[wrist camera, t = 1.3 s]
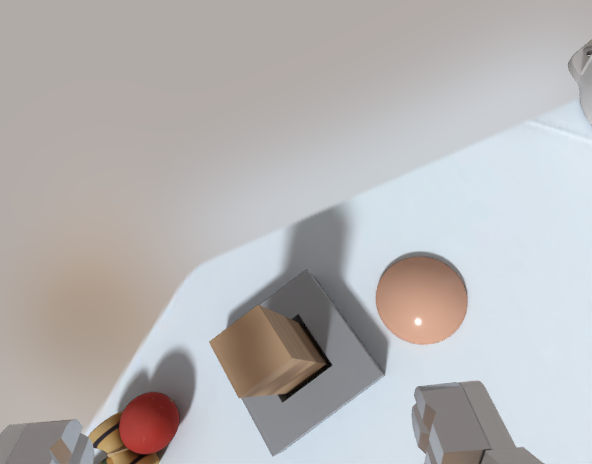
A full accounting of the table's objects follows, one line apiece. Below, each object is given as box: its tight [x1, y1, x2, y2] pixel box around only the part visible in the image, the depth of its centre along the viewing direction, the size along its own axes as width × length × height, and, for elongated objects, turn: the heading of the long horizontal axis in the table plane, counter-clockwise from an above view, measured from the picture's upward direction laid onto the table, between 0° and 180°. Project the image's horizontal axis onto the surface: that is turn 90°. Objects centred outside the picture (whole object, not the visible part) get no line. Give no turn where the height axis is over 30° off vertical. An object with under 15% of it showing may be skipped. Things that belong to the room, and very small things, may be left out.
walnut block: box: [209, 304, 330, 398], centre depth 38 cm, size 5×5×14 cm
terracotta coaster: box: [376, 257, 467, 345], centre depth 43 cm, size 9×9×1 cm
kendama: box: [88, 392, 179, 464], centre depth 44 cm, size 8×6×18 cm
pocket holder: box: [242, 269, 385, 456], centre depth 43 cm, size 13×13×3 cm
